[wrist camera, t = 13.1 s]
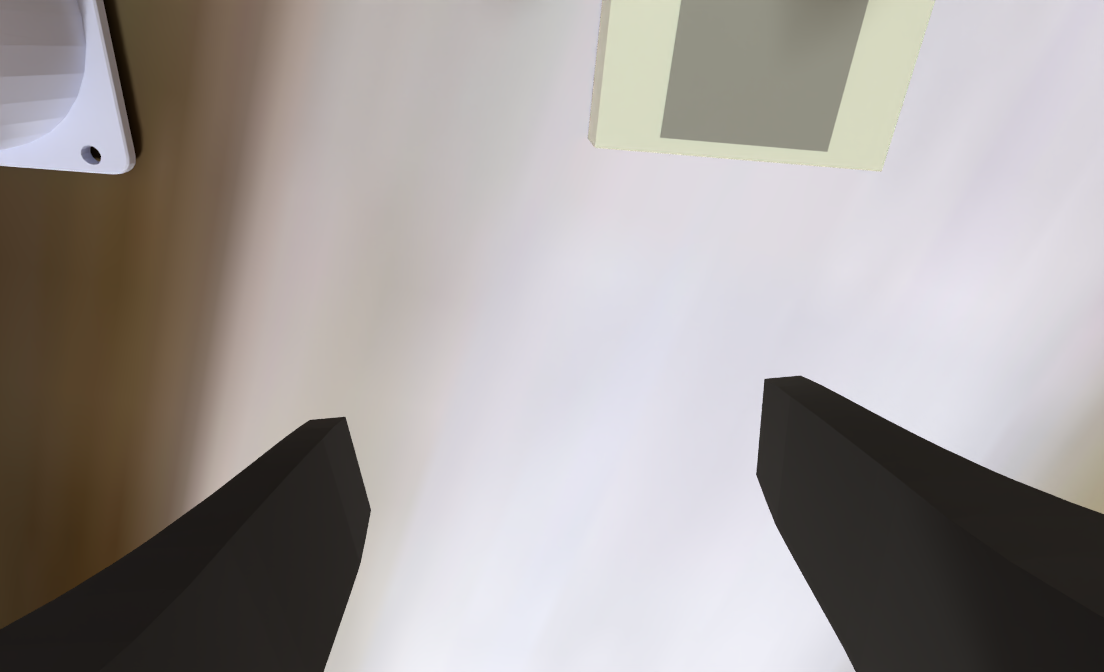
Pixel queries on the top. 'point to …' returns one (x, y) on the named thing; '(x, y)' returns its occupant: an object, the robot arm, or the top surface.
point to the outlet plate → (756, 78)
